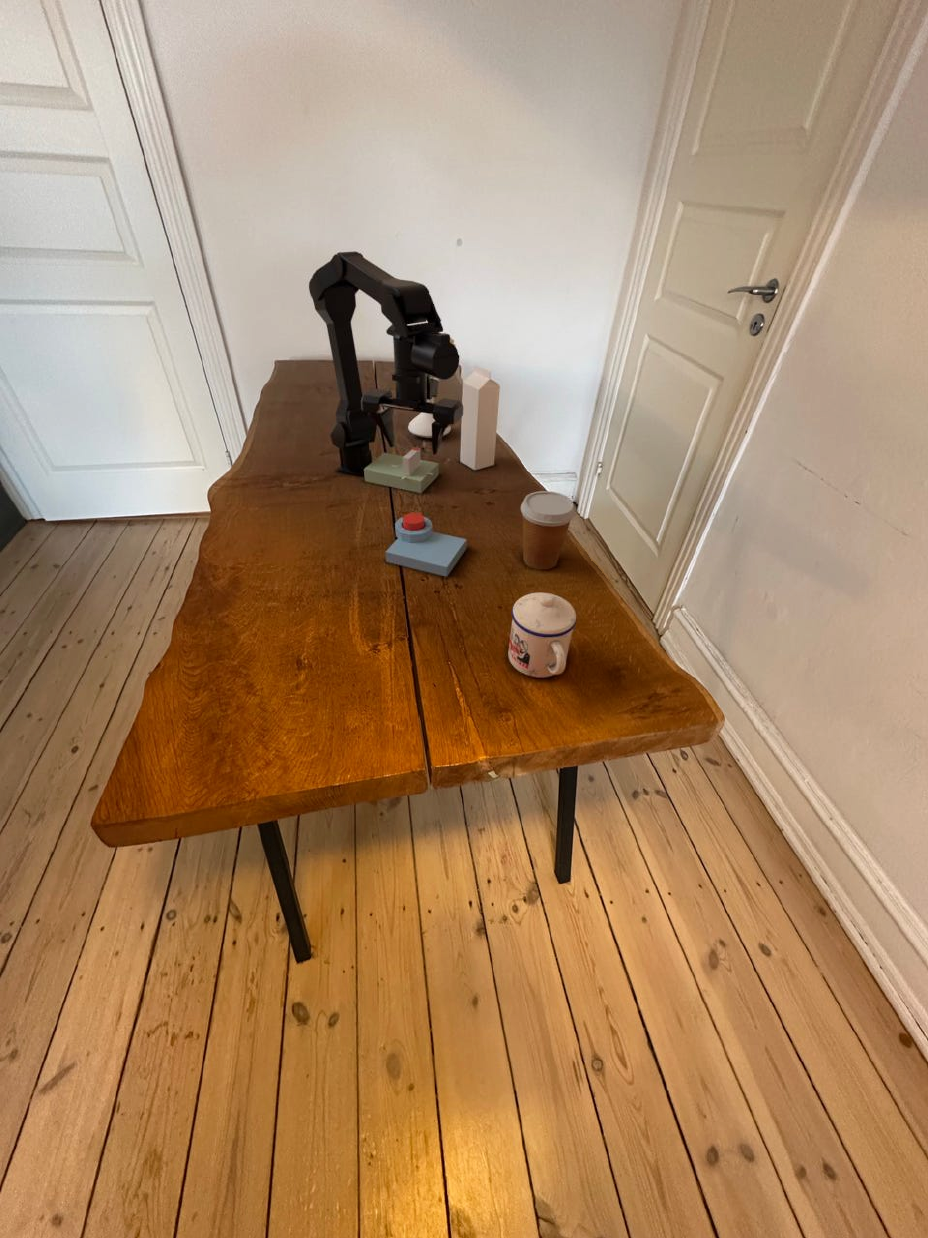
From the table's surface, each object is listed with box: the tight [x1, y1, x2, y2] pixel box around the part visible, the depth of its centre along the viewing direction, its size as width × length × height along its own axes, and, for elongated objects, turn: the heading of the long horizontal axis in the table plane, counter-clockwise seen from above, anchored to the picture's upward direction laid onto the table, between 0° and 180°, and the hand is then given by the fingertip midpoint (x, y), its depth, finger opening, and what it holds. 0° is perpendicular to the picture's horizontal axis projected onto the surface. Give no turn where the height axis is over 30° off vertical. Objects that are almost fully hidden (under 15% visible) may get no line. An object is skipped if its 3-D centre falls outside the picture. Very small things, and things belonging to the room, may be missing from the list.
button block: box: [385, 516, 468, 577], centre depth 102 cm, size 13×12×4 cm
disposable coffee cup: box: [520, 490, 576, 571], centre depth 99 cm, size 10×10×12 cm
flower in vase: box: [407, 336, 456, 439], centre depth 139 cm, size 13×11×25 cm
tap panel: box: [363, 452, 440, 494], centre depth 125 cm, size 15×11×3 cm
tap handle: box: [403, 446, 421, 476], centre depth 121 cm, size 6×2×4 cm, turn 159°
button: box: [402, 512, 425, 531], centre depth 103 cm, size 4×4×2 cm
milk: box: [459, 364, 501, 471], centre depth 127 cm, size 6×6×22 cm
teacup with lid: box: [507, 592, 578, 678], centre depth 77 cm, size 12×9×12 cm
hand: (413, 450), depth 108 cm, fingers open, 9 cm apart
